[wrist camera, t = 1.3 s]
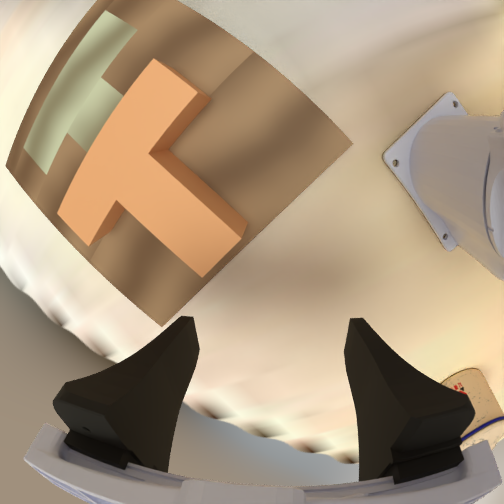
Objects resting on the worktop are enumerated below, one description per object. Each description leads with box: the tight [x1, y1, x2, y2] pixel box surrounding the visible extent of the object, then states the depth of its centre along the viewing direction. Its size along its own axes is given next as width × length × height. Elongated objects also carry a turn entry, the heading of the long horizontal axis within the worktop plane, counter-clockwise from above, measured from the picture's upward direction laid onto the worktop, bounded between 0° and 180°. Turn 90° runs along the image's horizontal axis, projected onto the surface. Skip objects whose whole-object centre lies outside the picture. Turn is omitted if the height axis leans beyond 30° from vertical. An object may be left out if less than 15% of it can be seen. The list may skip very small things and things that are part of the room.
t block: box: [57, 58, 248, 277], centre depth 16 cm, size 10×12×3 cm
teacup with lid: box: [441, 369, 504, 451], centre depth 20 cm, size 12×9×12 cm
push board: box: [6, 0, 353, 327], centre depth 17 cm, size 22×20×1 cm
